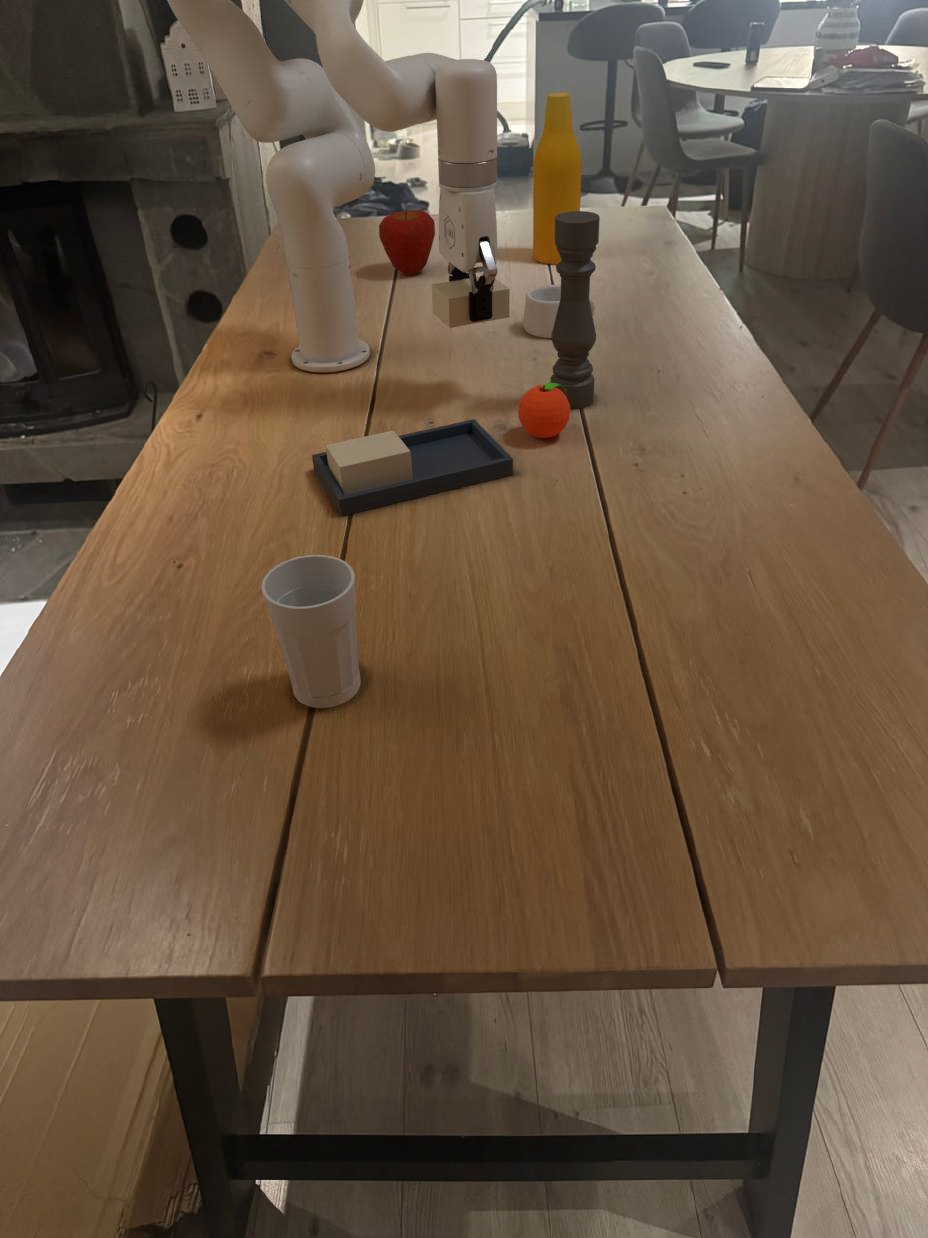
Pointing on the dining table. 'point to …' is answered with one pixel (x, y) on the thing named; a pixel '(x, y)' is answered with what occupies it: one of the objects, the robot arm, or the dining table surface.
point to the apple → (408, 239)
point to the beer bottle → (554, 176)
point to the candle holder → (575, 306)
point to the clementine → (544, 410)
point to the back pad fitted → (369, 462)
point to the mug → (543, 310)
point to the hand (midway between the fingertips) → (470, 310)
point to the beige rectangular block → (465, 302)
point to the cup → (316, 627)
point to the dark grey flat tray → (429, 467)
